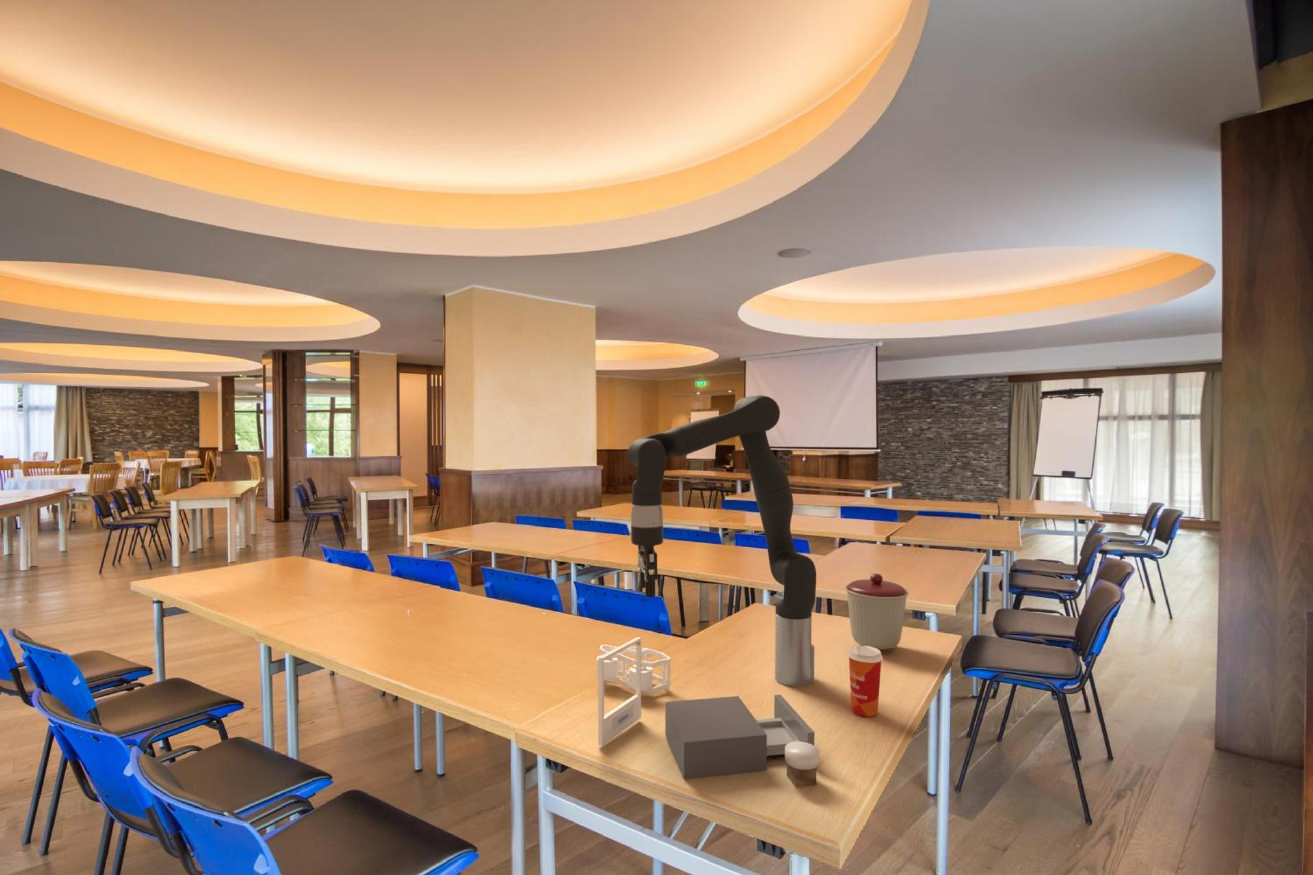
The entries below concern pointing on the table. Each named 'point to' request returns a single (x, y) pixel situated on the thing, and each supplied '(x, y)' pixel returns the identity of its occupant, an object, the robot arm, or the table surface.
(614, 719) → the photo frame
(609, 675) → the cup holder
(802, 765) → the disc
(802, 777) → the block
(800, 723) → the grey drawer
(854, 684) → the paper cup
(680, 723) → the grey drawer box
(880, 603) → the canister
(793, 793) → the table surface
